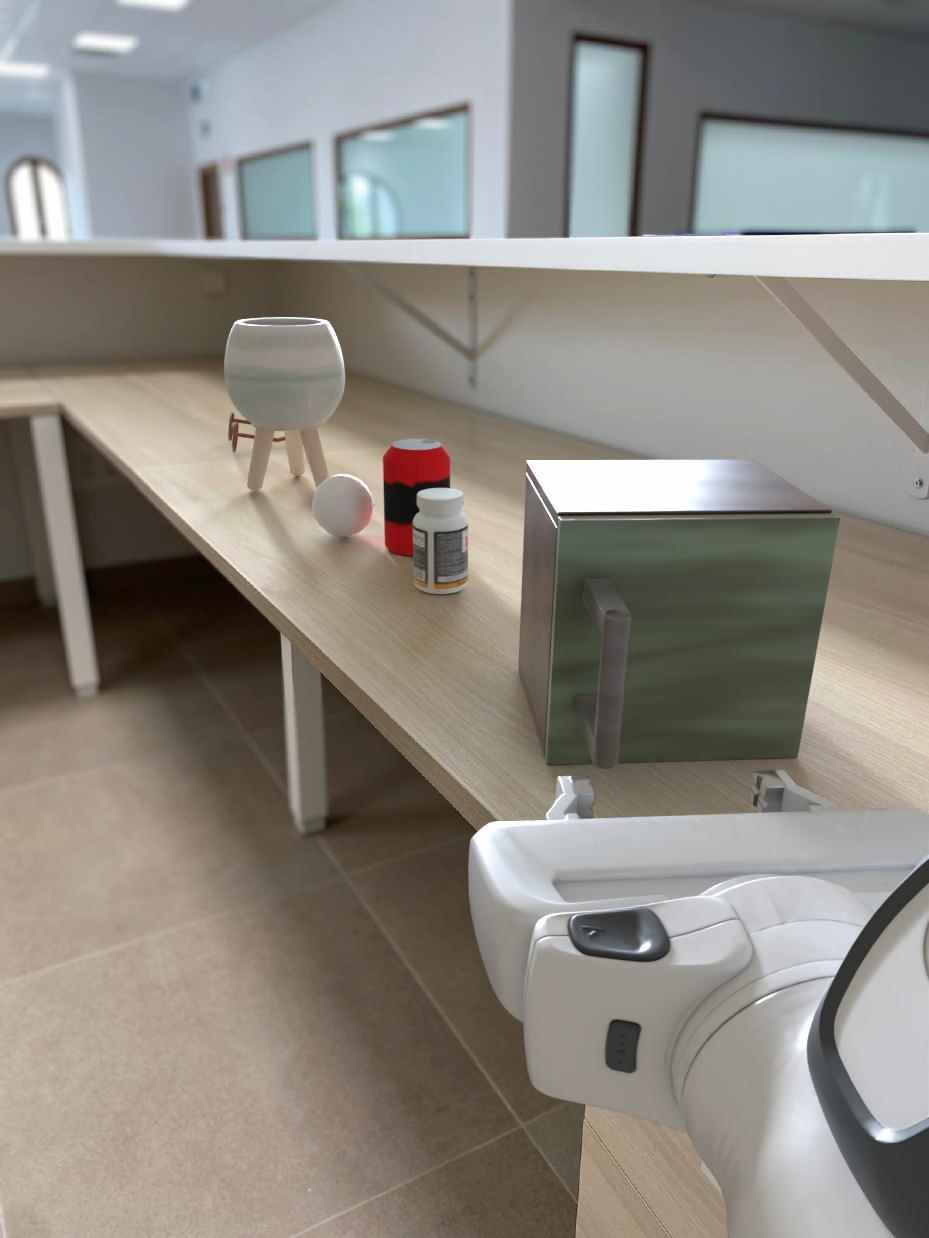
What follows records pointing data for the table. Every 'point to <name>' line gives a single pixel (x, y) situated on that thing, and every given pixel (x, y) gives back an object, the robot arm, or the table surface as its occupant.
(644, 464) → the cupboard
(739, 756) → the cupboard door
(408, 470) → the soda can
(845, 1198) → the robot arm
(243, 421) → the glasses
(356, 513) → the white ovoid
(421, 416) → the table surface
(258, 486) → the planter
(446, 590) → the pill bottle
